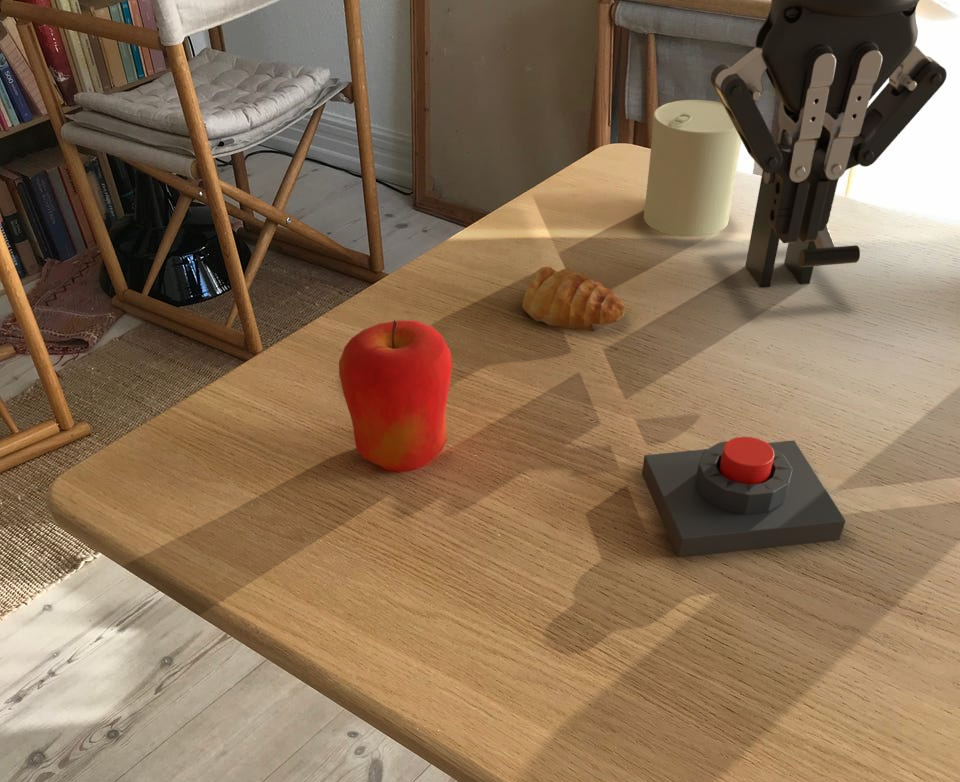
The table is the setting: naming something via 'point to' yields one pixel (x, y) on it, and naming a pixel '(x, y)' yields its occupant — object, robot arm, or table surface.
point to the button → (746, 460)
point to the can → (691, 168)
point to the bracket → (772, 243)
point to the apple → (397, 393)
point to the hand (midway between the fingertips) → (794, 236)
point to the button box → (739, 502)
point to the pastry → (570, 300)
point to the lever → (828, 252)
